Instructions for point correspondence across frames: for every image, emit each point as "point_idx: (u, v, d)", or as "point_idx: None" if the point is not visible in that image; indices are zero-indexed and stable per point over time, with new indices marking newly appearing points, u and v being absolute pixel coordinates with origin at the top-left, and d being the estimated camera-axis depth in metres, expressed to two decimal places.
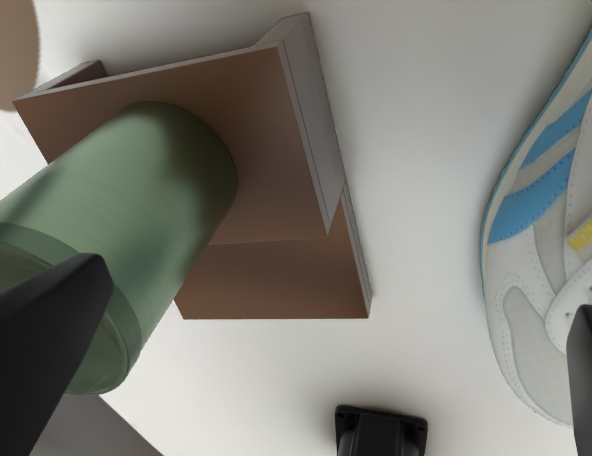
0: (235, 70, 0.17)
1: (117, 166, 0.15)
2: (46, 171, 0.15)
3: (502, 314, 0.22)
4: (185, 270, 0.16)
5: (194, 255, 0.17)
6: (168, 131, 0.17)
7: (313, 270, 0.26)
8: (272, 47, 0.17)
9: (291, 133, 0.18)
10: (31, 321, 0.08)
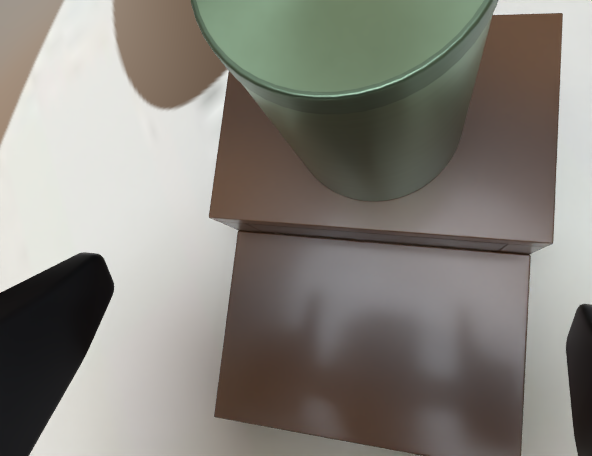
0: (508, 27, 0.17)
1: None
2: None
3: None
4: (465, 97, 0.12)
5: (464, 106, 0.13)
6: None
7: (459, 362, 0.19)
8: (557, 13, 0.17)
9: (549, 100, 0.16)
10: (31, 321, 0.08)
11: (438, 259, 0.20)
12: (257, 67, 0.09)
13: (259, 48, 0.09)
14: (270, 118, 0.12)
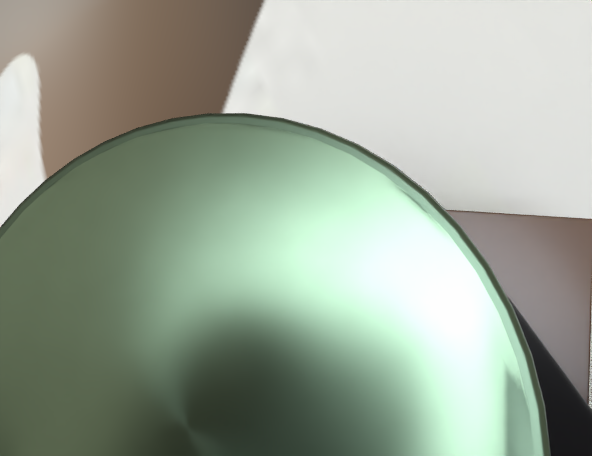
0: (518, 234, 0.13)
1: None
2: None
3: None
4: None
5: None
6: None
7: None
8: (586, 219, 0.12)
9: (576, 346, 0.12)
10: None
11: None
12: None
13: None
14: None
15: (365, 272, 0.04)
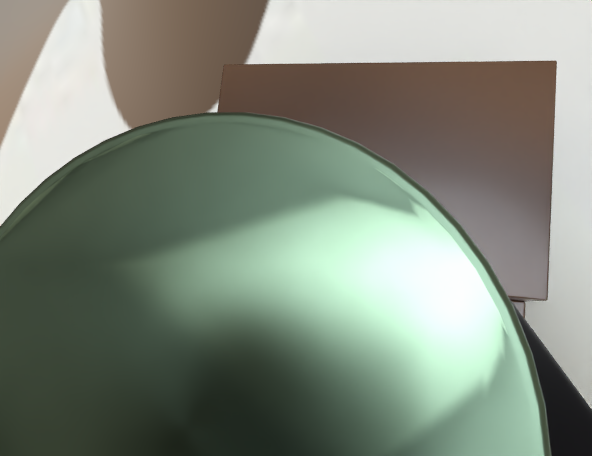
0: (501, 75, 0.17)
1: None
2: None
3: None
4: None
5: None
6: None
7: None
8: (551, 61, 0.17)
9: (543, 151, 0.16)
10: None
11: None
12: None
13: None
14: None
15: (365, 271, 0.04)
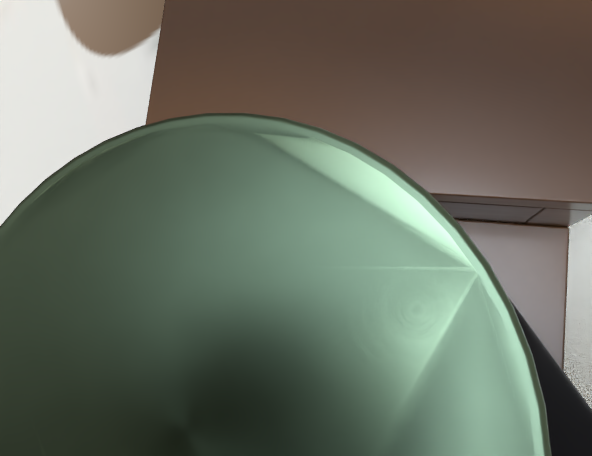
0: None
1: None
2: None
3: None
4: None
5: None
6: None
7: None
8: None
9: None
10: None
11: None
12: None
13: None
14: None
15: (365, 272, 0.04)
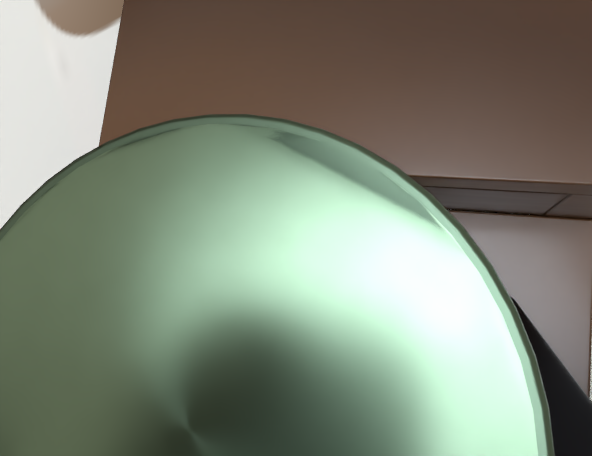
0: None
1: None
2: None
3: None
4: None
5: None
6: None
7: None
8: None
9: None
10: None
11: None
12: None
13: None
14: None
15: (367, 273, 0.04)
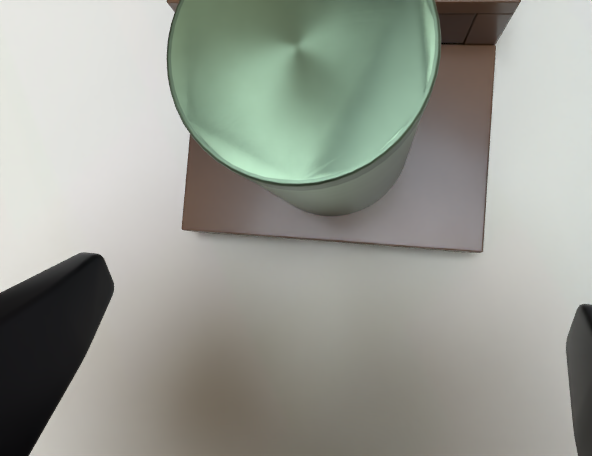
0: None
1: None
2: None
3: None
4: (407, 149, 0.14)
5: (406, 153, 0.15)
6: None
7: (425, 154, 0.19)
8: None
9: None
10: (31, 321, 0.08)
11: None
12: (232, 155, 0.11)
13: (233, 138, 0.11)
14: None
15: None
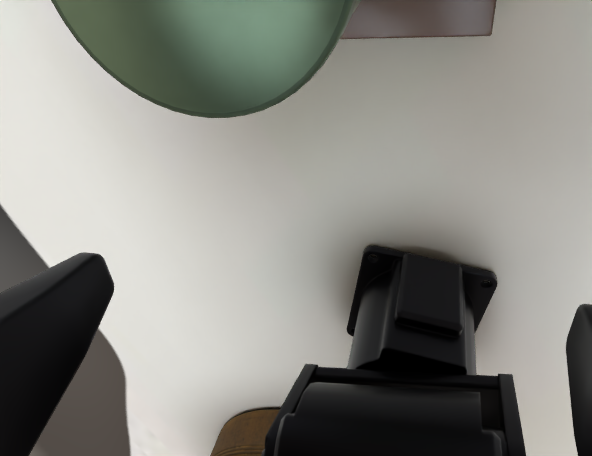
0: None
1: None
2: None
3: None
4: None
5: None
6: None
7: None
8: None
9: None
10: (31, 321, 0.08)
11: None
12: (152, 90, 0.10)
13: (147, 72, 0.10)
14: None
15: None
